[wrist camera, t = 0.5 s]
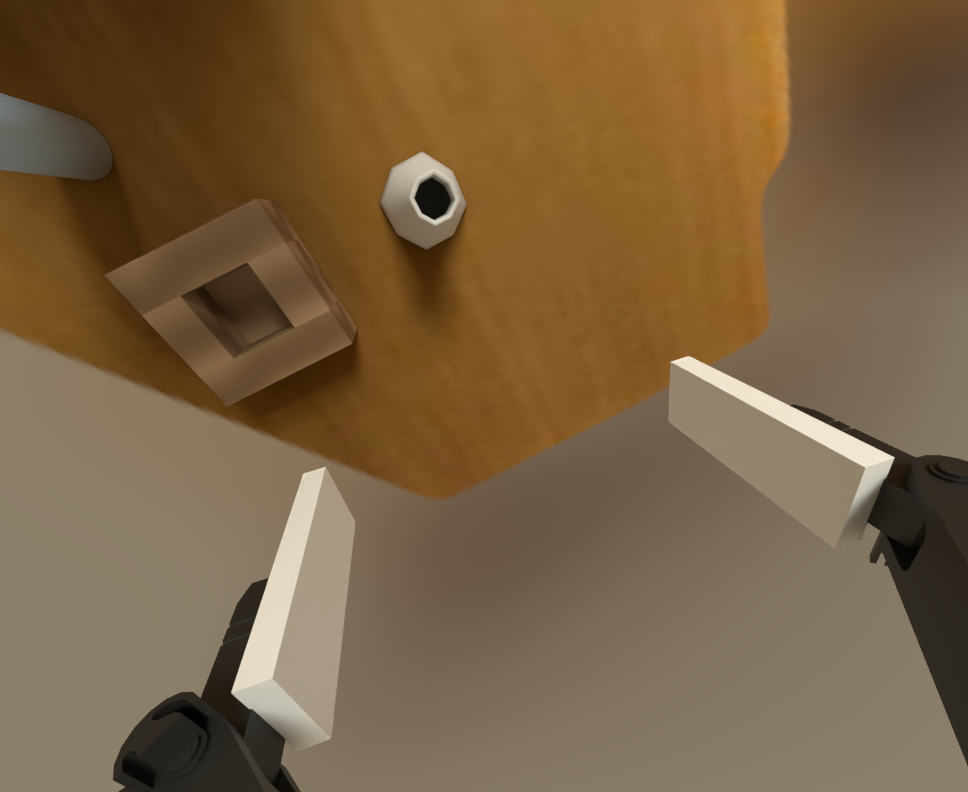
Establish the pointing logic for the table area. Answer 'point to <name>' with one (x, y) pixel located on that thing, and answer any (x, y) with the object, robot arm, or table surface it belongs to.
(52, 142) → the dowel
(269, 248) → the bore block
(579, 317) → the table surface
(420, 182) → the flask
